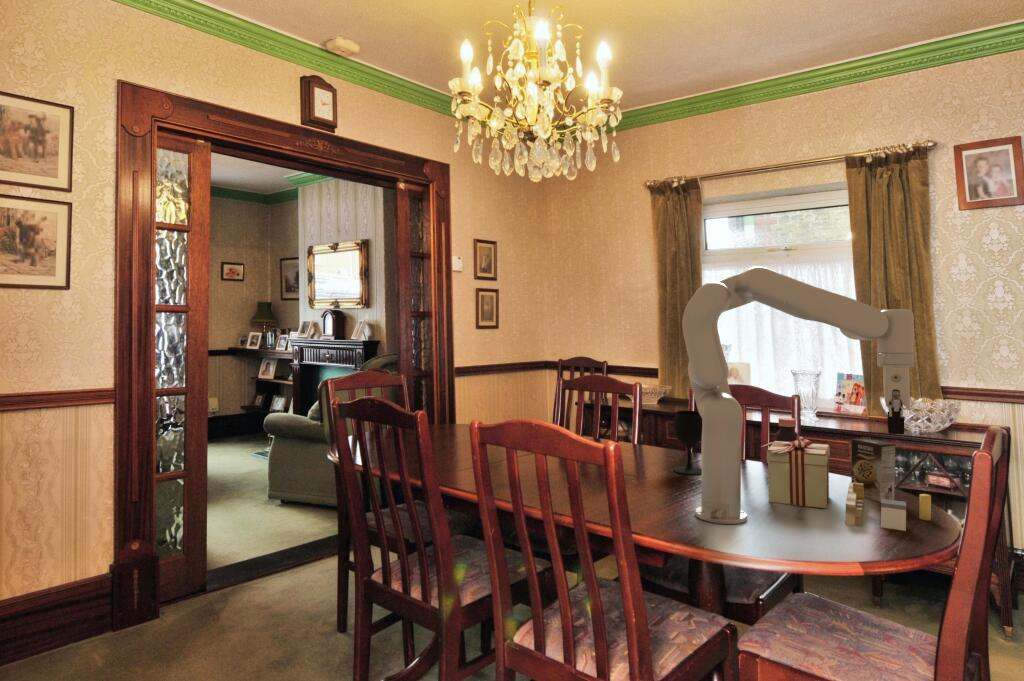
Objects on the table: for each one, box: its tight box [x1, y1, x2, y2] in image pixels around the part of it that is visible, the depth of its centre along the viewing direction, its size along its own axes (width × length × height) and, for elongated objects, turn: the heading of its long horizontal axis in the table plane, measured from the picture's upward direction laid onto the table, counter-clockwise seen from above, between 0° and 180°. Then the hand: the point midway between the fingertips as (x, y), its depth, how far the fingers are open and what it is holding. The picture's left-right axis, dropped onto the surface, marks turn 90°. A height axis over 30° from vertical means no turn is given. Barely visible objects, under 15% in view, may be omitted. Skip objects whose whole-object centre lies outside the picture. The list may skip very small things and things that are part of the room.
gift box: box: [759, 435, 831, 510], centre depth 169 cm, size 17×18×17 cm
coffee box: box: [850, 437, 896, 503], centre depth 171 cm, size 9×6×16 cm
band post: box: [918, 493, 932, 521], centre depth 151 cm, size 2×2×6 cm
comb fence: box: [844, 482, 865, 527], centre depth 157 cm, size 24×4×7 cm, turn 148°
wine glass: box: [672, 410, 702, 476], centre depth 202 cm, size 10×10×20 cm
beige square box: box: [880, 499, 907, 532], centre depth 146 cm, size 4×5×6 cm
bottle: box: [774, 417, 800, 442], centre depth 187 cm, size 7×7×20 cm
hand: (895, 430), depth 145 cm, fingers open, 9 cm apart
